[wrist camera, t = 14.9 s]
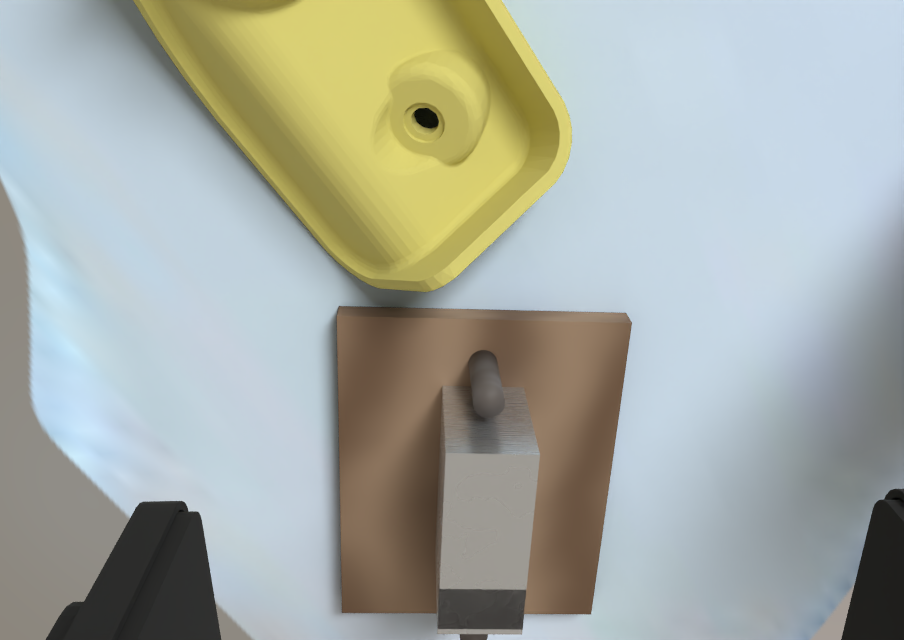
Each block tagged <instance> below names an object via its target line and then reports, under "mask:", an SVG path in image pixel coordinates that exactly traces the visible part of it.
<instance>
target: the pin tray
mask: <svg viewBox="0 0 904 640" xmlns="http://www.w3.org/2000/svg"><path fill="white" fill-rule="evenodd" d="M631 325H632V322H631V321H630V319H629V317H628V316H627V314H626V313H604V312H561V311H519V310H476V309H434V308H391V307H349V306H339V309H338V313H337V358H338V413H339V469H340V524H341V580H342V613H437V597H436V555H435V547H436V524H437V501H438V477H439V454H440V431H441V407H442V386H471V390H472V398H473V407H474V410H475V411H476V413H477V414H479V415H480V416H482V417H486V418H492V417H495V416H497V415H499V414H500V413H501V412H502V411H503V409H504V407H505V399H504V394H503V389H502V387H524V391H525V395H526V399H527V403H528V407H529V411H530V416H531V420H532V424H533V428H534V432H535V436H536V440H537V444H538V449H539V453H540V460H539V470H538V480H537V490H536V499H535V509H534V519H533V529H532V539H531V549H530V559H529V569H528V579H527V589H526V598H525V608H524V614H591V611H592V603H593V596H594V589H595V582H596V575H597V568H598V561H599V553H600V546H601V539H602V532H603V525H604V518H605V511H606V504H607V496H608V489H609V482H610V475H611V468H612V461H613V454H614V446H615V439H616V432H617V425H618V418H619V411H620V404H621V397H622V389H623V382H624V375H625V368H626V361H627V354H628V347H629V340H630V332H631ZM487 637H488V634H460V640H487Z"/></svg>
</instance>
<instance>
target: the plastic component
mask: <svg viewBox="0 0 904 640" xmlns="http://www.w3.org/2000/svg"><path fill="white" fill-rule="evenodd" d="M133 1H134V3H135V4H136V6H137V8H138V9H139V11H140V12H141V14H142V16H143V17H144V19H145V20H146V22H147V24H148V25H149V27H150V28H151V30H152V32H153V33H154V35H155V36H156V38H157V40H158V41H159V42H160V44H161V45H162V47H163V48H164V50H165V51H166V53H167V54H168V56H169V57H170V58H171V60H172V61H173V63H174V64H175V66H176V67H177V69H178V70H179V72H180V73H181V74H182V76H183V77H184V78H185V80H186V81H187V82H188V84H189V85H190V86H191V88H192V89H193V91H194V92H195V93H196V95H197V96H198V97H199V98H200V100H201V101H202V102H203V104H204V105H205V106H206V108H207V109H208V110H209V111H210V113H211V114H212V115H213V117H214V118H215V119H216V120H217V122H218V123H219V124H220V125H221V126H222V127H223V129H224V130H225V131H226V132H227V133H228V135H229V136H230V137H231V138H232V139H233V141H234V142H235V143H236V144H237V145H238V147H239V148H240V149H241V150H242V151H243V152H244V154H245V155H246V156H247V157H248V158H249V160H250V161H251V162H252V163H253V164H254V166H255V167H256V168H257V169H258V170H259V172H260V173H261V174H262V175H263V176H264V177H265V179H266V180H267V181H268V182H269V183H270V185H271V186H272V187H273V188H274V189H275V191H276V192H277V193H278V194H279V195H280V197H281V198H282V199H283V200H284V201H285V202H286V204H287V205H288V206H289V207H290V208H291V210H292V211H293V212H294V213H295V214H296V216H297V217H298V218H299V219H300V220H301V222H302V223H303V224H304V225H305V226H306V227H307V229H308V230H309V231H310V232H311V233H312V235H313V236H314V237H315V238H316V239H317V241H318V242H319V243H320V244H321V245H322V247H323V248H324V249H325V250H326V251H327V252H328V253H329V254H330V255H331V256H332V257H333V258H334V259H335V260H336V261H337V262H338V263H339V264H340V265H341V266H343V267H344V268H345V269H346V270H347V271H349V272H350V273H351V274H353V275H354V276H356V277H357V278H359V279H360V280H362V281H364V282H365V283H367V284H369V285H371V286H374V287H377V288H381V289H394V290H407V291H420V292H429V291H433V290H436V289H438V288H440V287H442V286H444V285H446V284H447V283H449V282H450V281H452V280H453V279H455V278H456V277H457V276H458V275H459V274H460V273H461V272H462V271H463V270H464V269H465V268H466V267H467V266H468V265H469V264H470V263H471V262H473V261H474V260H475V259H476V258H477V257H478V256H479V255H480V254H481V253H482V252H483V251H484V250H485V249H486V248H487V247H488V246H489V245H490V244H492V243H493V242H494V241H495V240H496V239H497V238H498V237H499V236H500V235H501V234H502V233H503V232H504V231H505V230H506V229H507V228H508V227H509V226H511V225H512V224H513V223H514V222H515V221H516V220H517V219H518V218H519V217H520V216H521V215H522V214H523V213H524V212H525V211H526V210H527V209H528V208H529V207H531V206H532V205H533V204H534V203H535V202H536V201H537V200H538V199H539V198H540V197H541V196H542V195H543V194H544V193H545V192H546V191H547V190H548V189H550V188H551V187H552V186H553V185H554V184H555V183H556V181H557V180H558V178H559V177H560V175H561V174H562V173H563V171H564V168H565V166H566V163H567V161H568V159H569V155H570V149H571V144H572V127H571V122H570V117H569V114H568V111H567V108H566V106H565V103H564V101H563V99H562V98H561V96H560V95H559V93H558V91H557V90H556V88H555V87H554V85H553V83H552V82H551V80H550V78H549V77H548V75H547V74H546V72H545V70H544V69H543V67H542V65H541V64H540V62H539V61H538V59H537V57H536V56H535V54H534V52H533V51H532V49H531V48H530V46H529V44H528V43H527V41H526V39H525V38H524V36H523V35H522V33H521V31H520V30H519V28H518V26H517V25H516V23H515V22H514V20H513V18H512V17H511V15H510V13H509V12H508V10H507V9H506V7H505V5H504V4H503V2H502V0H133ZM418 108H429V109H430V110H432V111H433V112H435V113H436V114H437V117H438V120H439V124H438V126H437V127H434V128H431V129H429V128H425V127H422V126H421V125H420V124H418V123H417V121H416V119H415V116H414V113H415V110H417V109H418Z"/></svg>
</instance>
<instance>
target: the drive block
mask: <svg viewBox="0 0 904 640" xmlns="http://www.w3.org/2000/svg"><path fill="white" fill-rule="evenodd" d="M502 389H503V394H504V399H505V407H504V409H503V411H502V412H501V413H500V414H499V415H497V416H495V417H492V418H486V417H482V416H480V415H479V414H477V413H476V411H475V410H474V407H473V398H472V390H471V386H442V407H441V431H440V454H439V477H438V501H437V524H436V547H435V555H436V597H437V634H522V628H523V618H524V608H525V598H526V589H527V579H528V569H529V559H530V549H531V539H532V529H533V519H534V509H535V499H536V490H537V480H538V470H539V460H540V453H539V449H538V444H537V440H536V436H535V432H534V428H533V424H532V420H531V416H530V411H529V407H528V403H527V399H526V395H525V391H524V387H502Z"/></svg>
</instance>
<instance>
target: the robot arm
mask: <svg viewBox="0 0 904 640" xmlns="http://www.w3.org/2000/svg"><path fill="white" fill-rule="evenodd" d="M46 640H221V635H220V630H219V623H218V617H217V611H216V605H215V599H214V593H213V586H212V580H211V574H210V568H209V562H208V556H207V550H206V544H205V538H204V531H203V525H202V520H201V516H200V514H199V512H188V508H187V506H186V504H185V502H183V501H160V502H142V503H139V505H138V506H137V507H136V509H135V511H134V513H133V514H132V516H131V518H130V520H129V522H128V523H127V525H126V527H125V529H124V531H123V533H122V534H121V536H120V538H119V540H118V542H117V543H116V545H115V547H114V549H113V551H112V552H111V554H110V556H109V558H108V559H107V561H106V563H105V565H104V567H103V569H102V570H101V572H100V574H99V576H98V578H97V579H96V581H95V583H94V585H93V587H92V589H91V590H90V592H89V594H88V596H87V597H86V599H85V601H84V602H73V603H71V604H70V605H68V606H67V607H66V608H65V609H64V611H63V612H62V613H61V615H60V616H59V618H58V620H57V621H56V623H55V625H54V626H53V628H52V630H51V632H50V633H49V635H48V637H47V638H46ZM841 640H904V489H893V490H890V491H889V492H888V494H887V495H886V497H885V499H884V500H879V501H877V502H876V504H875V505H874V508H873V511H872V515H871V519H870V524H869V528H868V532H867V536H866V540H865V544H864V548H863V552H862V557H861V561H860V565H859V569H858V573H857V577H856V581H855V585H854V590H853V594H852V598H851V602H850V607H849V610H848V614H847V618H846V623H845V627H844V631H843V635H842V639H841Z"/></svg>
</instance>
